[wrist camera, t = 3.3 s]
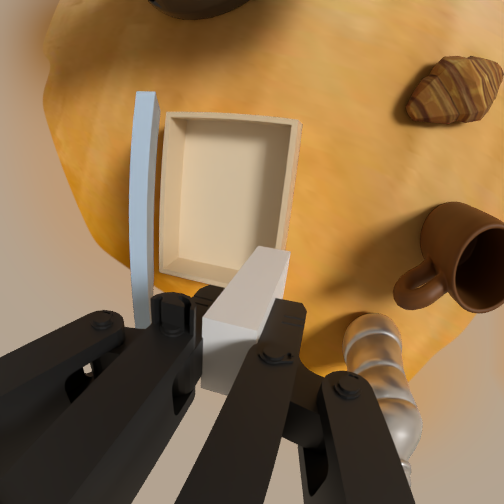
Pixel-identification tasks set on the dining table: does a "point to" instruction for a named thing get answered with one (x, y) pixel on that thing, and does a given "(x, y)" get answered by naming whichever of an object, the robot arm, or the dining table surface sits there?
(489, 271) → the mug
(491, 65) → the croissant
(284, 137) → the base
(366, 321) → the plastic bottle
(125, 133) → the dining table surface
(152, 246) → the lid
